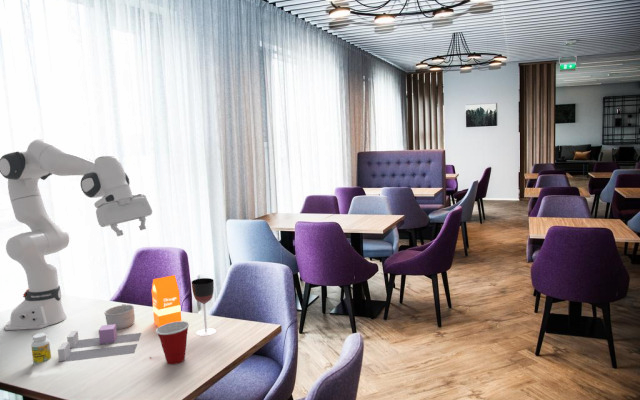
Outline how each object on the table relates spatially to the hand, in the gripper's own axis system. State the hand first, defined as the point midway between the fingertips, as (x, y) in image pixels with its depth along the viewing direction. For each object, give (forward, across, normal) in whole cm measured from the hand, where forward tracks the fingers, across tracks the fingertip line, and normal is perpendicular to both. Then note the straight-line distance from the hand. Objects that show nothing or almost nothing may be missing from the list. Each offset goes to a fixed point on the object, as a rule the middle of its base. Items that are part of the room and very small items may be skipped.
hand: (132, 232), depth 180 cm
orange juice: (+38, -12, -16) cm, 43 cm away
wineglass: (+45, -14, +2) cm, 47 cm away
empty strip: (+37, +19, -13) cm, 44 cm away
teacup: (+33, -2, -31) cm, 45 cm away
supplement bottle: (+32, +32, -25) cm, 52 cm away
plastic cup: (+47, +8, +12) cm, 49 cm away
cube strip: (+35, +12, -20) cm, 42 cm away
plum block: (+34, +11, -19) cm, 41 cm away
